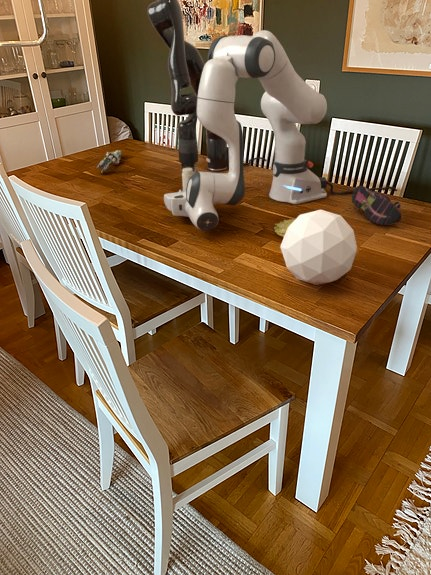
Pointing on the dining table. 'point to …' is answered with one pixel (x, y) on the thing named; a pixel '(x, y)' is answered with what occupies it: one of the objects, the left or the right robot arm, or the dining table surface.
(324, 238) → the sphere
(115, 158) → the figurine
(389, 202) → the athletic shoe
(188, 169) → the beige cylinder
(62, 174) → the dining table surface
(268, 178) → the dining table surface
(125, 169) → the dining table surface
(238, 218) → the dining table surface
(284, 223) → the decorative object
